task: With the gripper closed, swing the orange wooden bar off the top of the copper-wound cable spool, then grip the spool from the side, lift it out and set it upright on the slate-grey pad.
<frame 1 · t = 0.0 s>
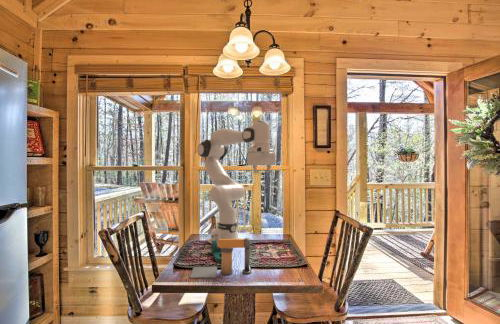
hand: (262, 173, 161), 48 cm above the table, tool pointing down, fingers open, 8 cm apart
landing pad: (204, 273, 139), on the table
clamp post: (246, 272, 140), on the table
cable spool: (226, 272, 139), on the table
orange wooden bar: (234, 243, 139), point 15 cm above the table, hinge at 0.0°
bracket: (219, 257, 161), on the table
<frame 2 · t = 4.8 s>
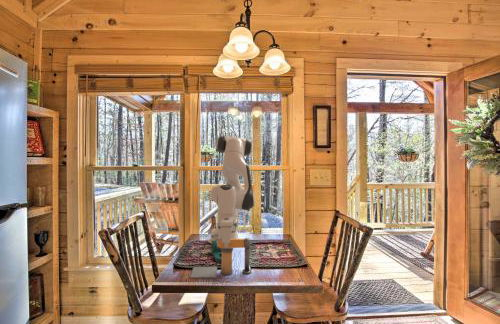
hand: (226, 247, 136), 14 cm above the table, tool pointing down, fingers closed
orange wooden bar: (234, 243, 139), point 15 cm above the table, hinge at -0.1°, touching gripper
everything else where it was.
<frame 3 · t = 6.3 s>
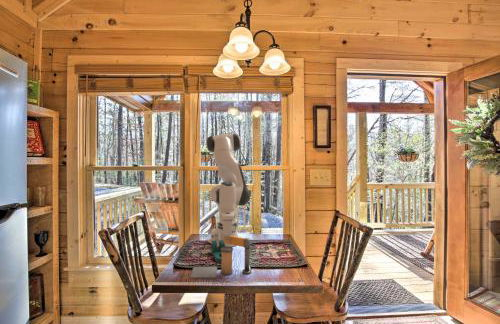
hand: (227, 240, 143), 14 cm above the table, tool pointing down, fingers closed, pressing on orange wooden bar
orange wooden bar: (236, 241, 143), point 15 cm above the table, hinge at -35.5°, touching gripper
everything else where it was.
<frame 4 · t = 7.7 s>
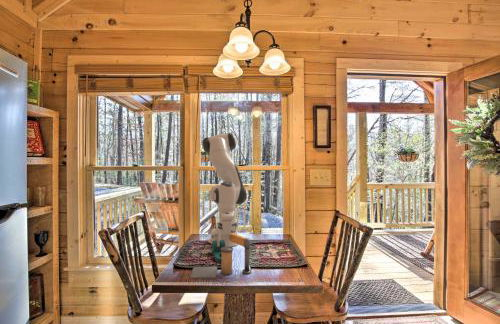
hand: (227, 239, 149), 14 cm above the table, tool pointing down, fingers closed
orange wooden bar: (239, 240, 144), point 15 cm above the table, hinge at -53.5°
everything else where it was.
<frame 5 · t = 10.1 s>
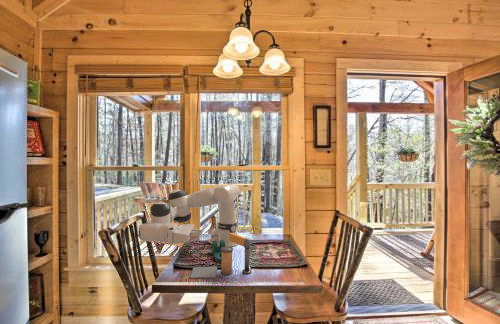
hand: (201, 232, 138), 20 cm above the table, tool horizontal, fingers closed
nothing on the table moved.
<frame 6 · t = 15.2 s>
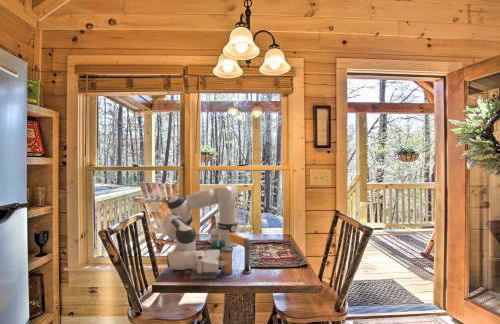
hand: (228, 259, 139), 7 cm above the table, tool horizontal, fingers closed on cable spool, 5 cm apart
cable spool: (226, 272, 139), on the table, touching gripper
everything else where it was.
when the fingers open (9 cm above the table, at t = 20.6 s): cable spool drops 1 cm, resting on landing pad.
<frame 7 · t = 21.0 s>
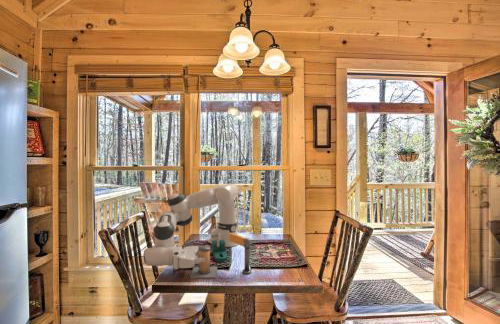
hand: (206, 255, 138), 9 cm above the table, tool horizontal, fingers open, 8 cm apart
cable spool: (204, 271, 139), point 1 cm above the table, touching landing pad
everything else where it was.
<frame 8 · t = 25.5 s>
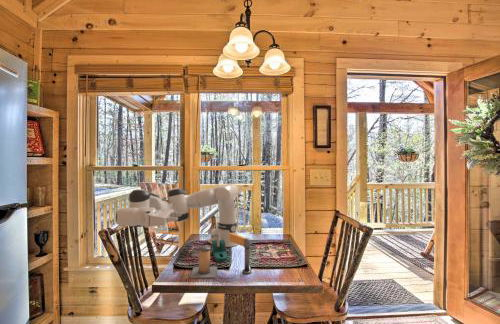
hand: (179, 216, 137), 28 cm above the table, tool horizontal, fingers open, 8 cm apart
nothing on the table moved.
at the end: cable spool inside the target area on the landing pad (0.0 cm from its centre), point 0.7 cm above the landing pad's base; cable spool tilted 1°; orange wooden bar at -54° (first picture: +0°) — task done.
